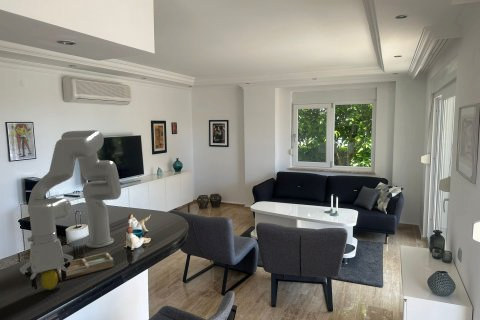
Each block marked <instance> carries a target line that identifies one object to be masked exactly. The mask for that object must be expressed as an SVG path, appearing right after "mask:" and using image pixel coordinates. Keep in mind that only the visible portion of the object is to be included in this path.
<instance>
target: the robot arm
mask: <svg viewBox="0 0 480 320" xmlns="http://www.w3.org/2000/svg"><path fill="white" fill-rule="evenodd" d="M104 140H105V139H104V135H103V133H102V132H100V131H99V130H71V131H70V130H68V131H66V132H63V133H62V134H61V137H60V138H59V140H57V141H56V142H55V145H54V148H53V149H54V150H53V153H52V158H51V161H50V166H49V170H48V172H47V173H46V174H45V175H44V176H43V177H41V178H40V179H39V180H38V182H37V183H36V184H35V185H34V186H33V188H32V190H31V192H30V195H29V198H28V199H29V200H28V203H27V213H28V215H29V221H30V229H31V230H30V231H31V236H30V237H27V242H31V243H30V248H29V249H30V250H29V258H30V260H29V261H27V262H26V263H25V264H24V265H22V266H21V267H20V268H19V272H20V273H21V274H23V275H24V276H25V277H26V278H29V280H30V281H31V288H34V290H35V291H36V290H38V286H37V285H38V283H37V277H36V276H37V274H40V273H39V272H44V271H48V270H52V269H53V270H55V269H56V270H57V268H59V267H60V268H61V277H62V280H61V282H63V283H66V279H65V278H66V270H67V268H68V267H69V266H70V264H71V262H72V260H74V256H73V255H72V254H71V255H70V254H67V253H64V251H63V246H62V244H61V239H60V238H58V236H57V228H56V227H57V225H56V220H59V219H63V218H66V217H67V216H68V215H69V214H70V212H71V211H72V203H71V202H70V200H68V199H66V198H64V197H60V198H59V197H54V198H52V197H51V198H48V197H47V198H45V196H46V194H47V193H48V192H49V191H50V190H51V189H53V188H54V187H55V186H58V185H60V184H62V183H64V182H67V181H68V180H70V179H72V178H73V175H74V172H75V171H74V170H75V166H76V165H75V164H76V160H77V161H78V165H79V168H80V173H81V175H82V178H83V180H86V181H88V182H86V183H84V185H83V186H82V195H83V198H84V201H85V205H86V206H85V207H86V215H87V227H88V228H87V229H88V234H89V236H88V237H89V240H88V241H87V243H86V247H88V248H90V249H91V248H92V249H93V248H94V249H98V248H103V247H107V246H109V245H112V244H113V243H114V241H115V239H114V238H113V237H111V234H110V233H111V230H110V220H109V209H108V206H107V204H106V203H105V202H104V201H110V200H113V201H114V200H118V199H119V198H120V197H121V194H122V187H121V182H120V176H119V172H118V169H117V165H116V163H115V162H114V161H112V160H107V159H105V160H104V159H103V160H101V159H99V156H98V154H97V152H98V151H100V150H101V149H102V147H103V146H104ZM64 259H66V260H67V261H65V260H64ZM64 262H66V263H65V265H64ZM28 268H31V272H30V271H28V270H27V269H28Z"/></svg>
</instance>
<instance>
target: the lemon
mask: <svg viewBox="0 0 480 320" xmlns="http://www.w3.org/2000/svg"><path fill="white" fill-rule="evenodd" d="M39 281H40V285H41V287H42V288H43V289H44V290H45V289H46V290H49V291H51V290H52V289H54V288H55V287H56V286H57V285H58V283H59V282H58V281H59V275H58V273H57V270H55V269H52V270H48V271H44V272H43V273H41V275H40V280H39Z"/></svg>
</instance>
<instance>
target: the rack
mask: <svg viewBox="0 0 480 320" xmlns="http://www.w3.org/2000/svg"><path fill="white" fill-rule="evenodd" d="M114 260H115V259H114V258H113V257H112V255H111V254H109V252H108V251H105V252H102V253H98V254H94V255H90V256H86V257H82V258H77V259H73V260H72V262H71V264H70V266H69V267H68V268H67V270H66V278H65V280H68V279H72V278H76V277H80V276H84V275H88V274H90V273H91V274H92V273H94V272H98V271H102V270H106V269H110V268H113V267H115V261H114ZM66 262H67V261H64V265H65V263H66ZM56 273H57V275H58V279H60V281H62V277H61V268H60V267H59V268H56Z"/></svg>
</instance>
